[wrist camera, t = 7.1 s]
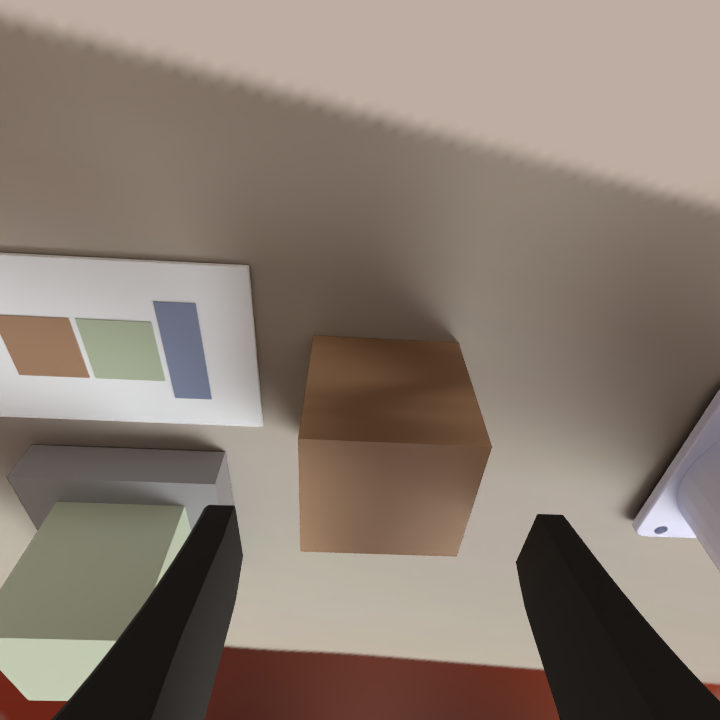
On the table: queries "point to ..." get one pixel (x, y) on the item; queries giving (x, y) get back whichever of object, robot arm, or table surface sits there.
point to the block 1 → (81, 590)
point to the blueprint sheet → (127, 341)
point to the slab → (120, 478)
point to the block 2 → (388, 447)
